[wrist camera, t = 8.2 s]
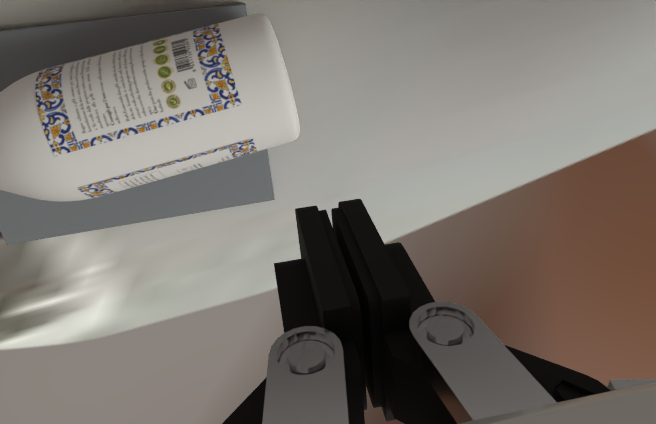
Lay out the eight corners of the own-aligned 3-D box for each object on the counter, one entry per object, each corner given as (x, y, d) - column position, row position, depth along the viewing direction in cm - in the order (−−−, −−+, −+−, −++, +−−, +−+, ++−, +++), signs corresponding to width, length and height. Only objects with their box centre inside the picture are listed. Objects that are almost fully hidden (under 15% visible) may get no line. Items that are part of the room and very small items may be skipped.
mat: (244, 3, 29) (245, 5, 28) (273, 194, 35) (274, 199, 34) (-83, 39, 26) (-91, 41, 25) (11, 238, 32) (6, 244, 32)
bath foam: (258, -10, 27) (-117, 87, 25) (283, 45, 22) (-180, 170, 20) (285, 98, 32) (-28, 185, 30) (310, 163, 27) (-61, 270, 25)
